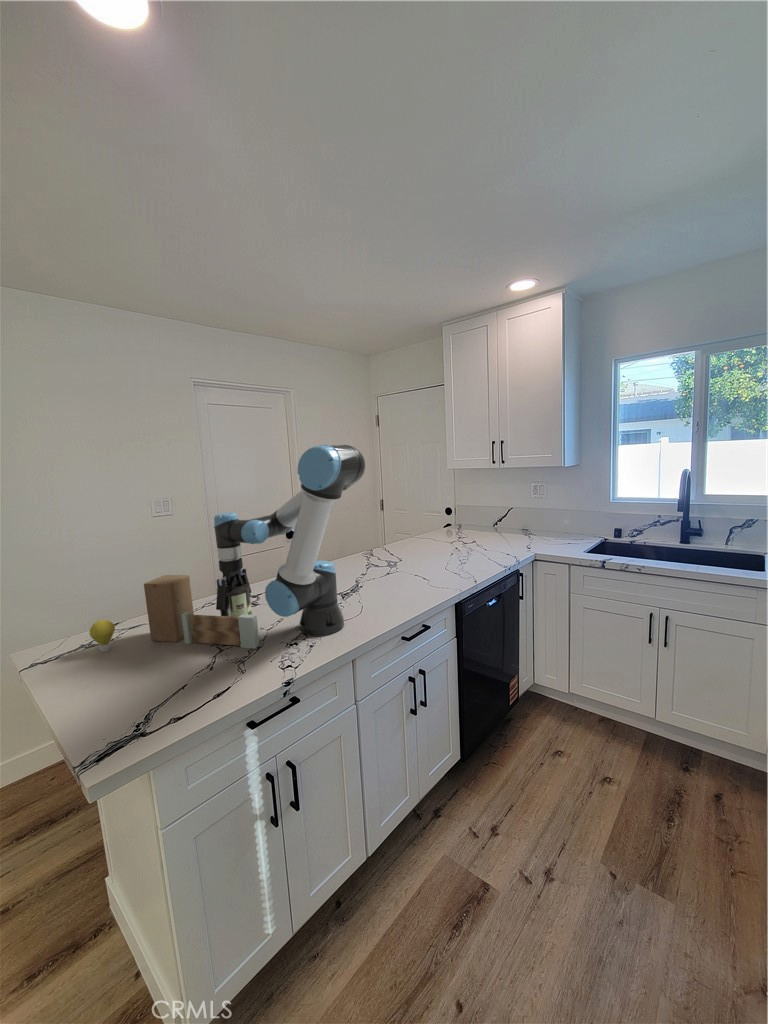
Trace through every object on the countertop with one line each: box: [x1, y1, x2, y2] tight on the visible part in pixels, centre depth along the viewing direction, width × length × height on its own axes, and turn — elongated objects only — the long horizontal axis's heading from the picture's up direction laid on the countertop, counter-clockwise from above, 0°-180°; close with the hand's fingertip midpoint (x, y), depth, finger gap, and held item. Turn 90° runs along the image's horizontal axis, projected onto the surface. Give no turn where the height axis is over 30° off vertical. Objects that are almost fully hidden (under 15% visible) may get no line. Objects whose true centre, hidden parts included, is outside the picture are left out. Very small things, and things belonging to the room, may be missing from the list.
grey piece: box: [181, 612, 260, 649], centre depth 134 cm, size 26×3×10 cm, turn 77°
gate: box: [189, 614, 241, 647], centre depth 135 cm, size 18×1×9 cm, turn 77°
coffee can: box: [219, 584, 253, 617], centre depth 144 cm, size 10×10×14 cm
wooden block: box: [143, 574, 195, 643], centre depth 142 cm, size 10×10×20 cm
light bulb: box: [89, 619, 116, 653], centre depth 134 cm, size 7×7×10 cm
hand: (237, 621), depth 145 cm, fingers closed on coffee can, 10 cm apart
